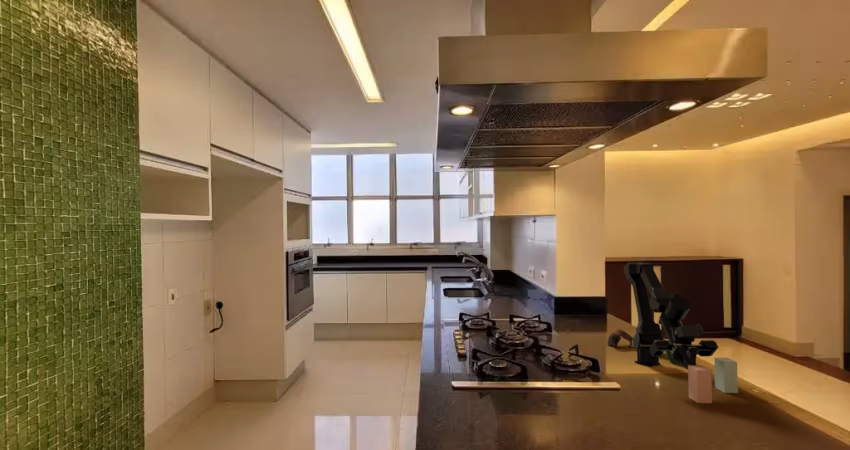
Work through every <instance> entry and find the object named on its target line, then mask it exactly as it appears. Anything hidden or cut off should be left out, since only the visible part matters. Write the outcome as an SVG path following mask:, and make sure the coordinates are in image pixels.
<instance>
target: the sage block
mask: <svg viewBox="0 0 850 450" xmlns="http://www.w3.org/2000/svg"><path fill="white" fill-rule="evenodd" d="M713 360H714V361H713V362H714V388H715V389H716V390H719V391H720V392H722V393H724V394H739V385H738V383H739V382H738V380H739V379H738V378H739V377H738V361H736V360H734V359H731V358H729V357H714V358H713Z"/></svg>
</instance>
